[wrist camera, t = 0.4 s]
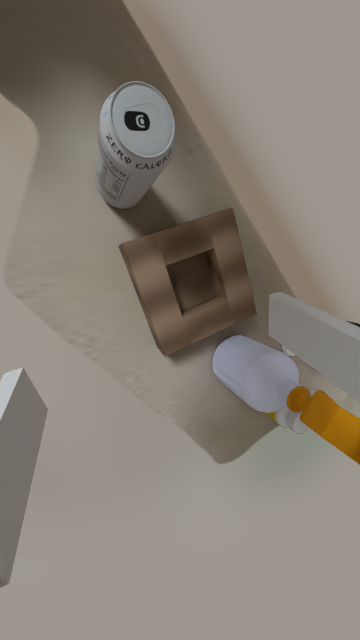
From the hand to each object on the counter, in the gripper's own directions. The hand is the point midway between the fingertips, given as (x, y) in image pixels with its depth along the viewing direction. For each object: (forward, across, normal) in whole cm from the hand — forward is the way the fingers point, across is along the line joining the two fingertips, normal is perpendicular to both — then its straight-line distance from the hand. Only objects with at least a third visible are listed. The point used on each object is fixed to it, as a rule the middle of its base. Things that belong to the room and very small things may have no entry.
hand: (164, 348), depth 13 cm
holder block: (+23, +9, -5) cm, 26 cm away
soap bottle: (+21, +14, -21) cm, 33 cm away
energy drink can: (+26, +2, +9) cm, 28 cm away
